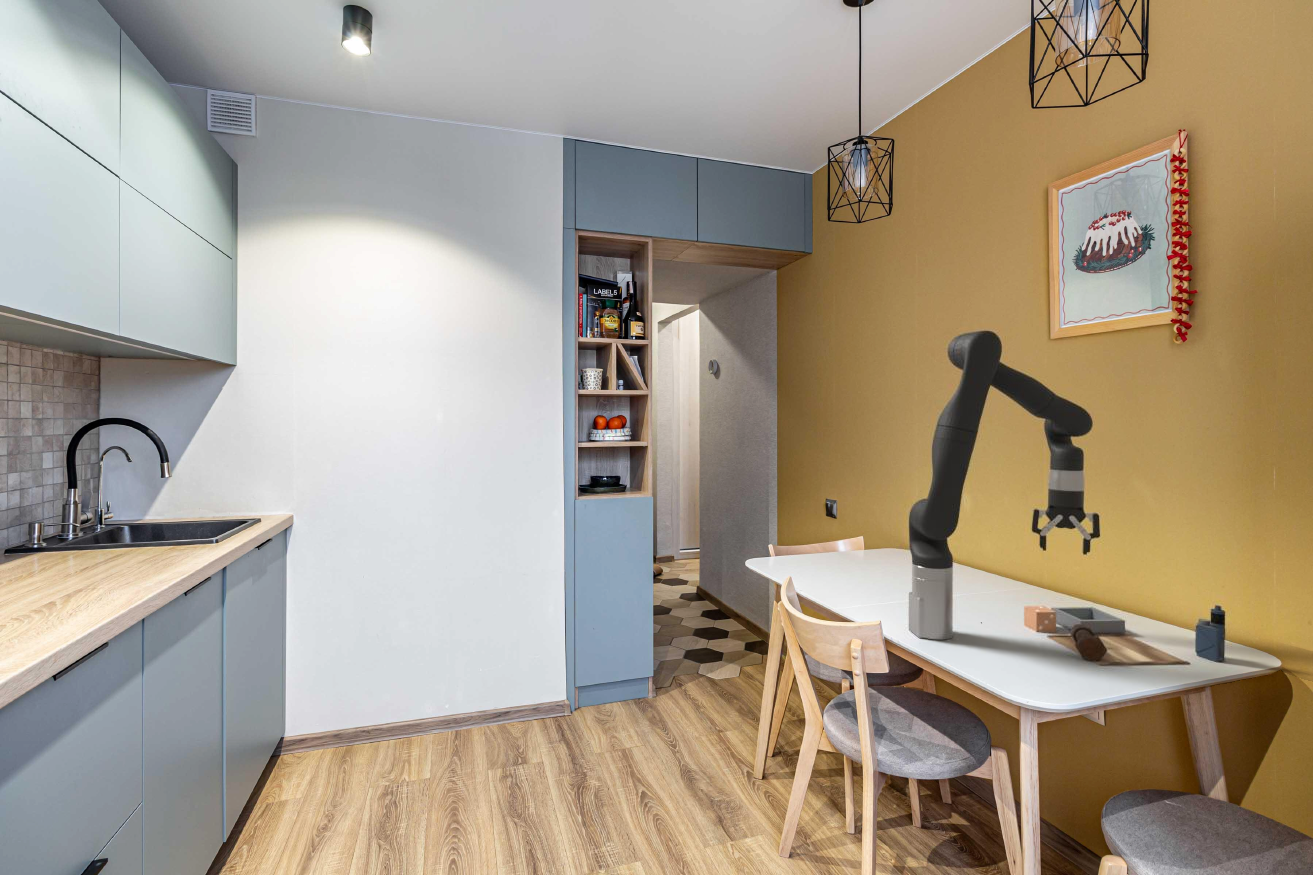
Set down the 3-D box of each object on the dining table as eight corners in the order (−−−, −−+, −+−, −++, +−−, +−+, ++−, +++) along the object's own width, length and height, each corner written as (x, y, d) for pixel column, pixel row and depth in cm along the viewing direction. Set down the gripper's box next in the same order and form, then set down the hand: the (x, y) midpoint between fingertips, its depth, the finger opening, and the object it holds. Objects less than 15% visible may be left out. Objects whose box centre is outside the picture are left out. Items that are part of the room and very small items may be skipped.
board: (1100, 665, 133) (1100, 663, 133) (1047, 636, 150) (1047, 635, 150) (1189, 663, 133) (1189, 662, 133) (1126, 635, 151) (1126, 634, 151)
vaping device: (1219, 663, 133) (1220, 608, 133) (1192, 654, 138) (1193, 601, 138) (1227, 661, 134) (1228, 607, 134) (1200, 653, 139) (1201, 600, 139)
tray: (1080, 635, 151) (1080, 621, 151) (1051, 620, 162) (1051, 607, 162) (1124, 634, 151) (1124, 620, 151) (1092, 620, 162) (1092, 607, 162)
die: (1036, 632, 154) (1036, 612, 154) (1024, 625, 159) (1024, 606, 159) (1056, 631, 154) (1056, 611, 154) (1043, 625, 159) (1043, 605, 159)
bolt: (1083, 646, 148) (1095, 666, 134) (1061, 633, 150) (1071, 651, 136) (1098, 626, 147) (1111, 645, 133) (1076, 613, 149) (1087, 630, 135)
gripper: (1033, 487, 155) (1031, 551, 156) (1102, 491, 148) (1100, 558, 149) (1032, 485, 162) (1030, 546, 162) (1098, 488, 155) (1096, 552, 155)
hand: (1064, 552), depth 156 cm, fingers open, 8 cm apart
